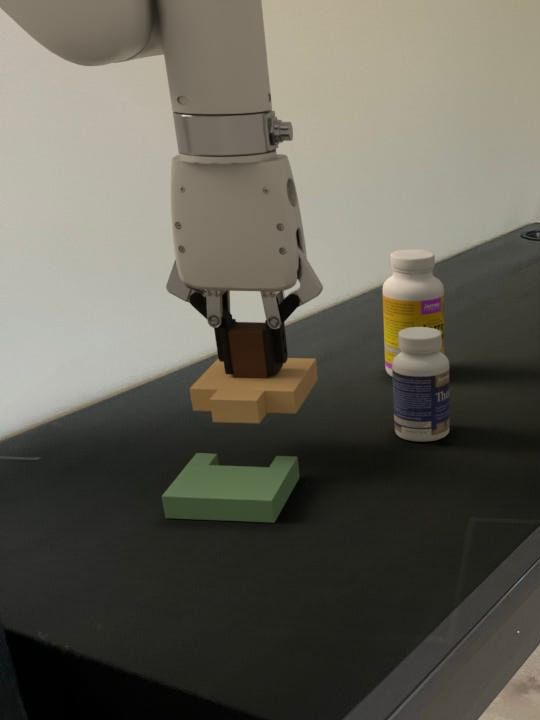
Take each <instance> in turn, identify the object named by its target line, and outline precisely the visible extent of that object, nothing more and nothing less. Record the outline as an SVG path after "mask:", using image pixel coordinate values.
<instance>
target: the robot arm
mask: <svg viewBox="0 0 540 720" xmlns="http://www.w3.org/2000/svg"><path fill="white" fill-rule="evenodd" d="M0 9H1V10H2V11H3V12H4V13H5V14H6V15H7V16H8V17H10V18H11V20H13V21H14V22H15V23H16V24H17V25H18V26H19V27H20V28H21V29H22V30H24V31H25V32H26V33H27V34H28V35H29V36H30V37H31V38H32V39H34V40H35V41H36V42H37V43H38V44H39V45H41V46H42V47H44V48H45V49H47V50H48V51H49V52H51V53H52V54H54V55H56V56H58V57H59V58H61V59H63V60H64V61H67V62H69V63H73V64H75V65H78V66H84V67H101V66H105V65H110V64H118V63H123V62H129V61H134V60H138V59H144V58H149V57H155V56H163V58H164V65H165V71H166V77H167V83H168V92H169V97H170V104H171V110H172V117H173V123H174V130H175V136H176V143H177V151H178V154H177V155H175V156H174V157H172V158H171V167H170V213H171V214H170V215H171V229H172V230H171V231H172V240H173V250H174V256H175V259H174V262H173V265H172V268H171V271H170V273H169V276H168V279H167V283H166V284H165V285H166V286H165V288H166V291H167V292H168V293H169V294H171V295H173V296H174V297H176V298H178V299H180V300H182V301H184V302H186V303H189V304H190V305H191V307H193V308H194V309H195V310H196V311H197V312H198V314H200V315H201V316H203V318H205V320H206V321H207V323H208V325H209V326H210V327H211V328H212V329H214V330H213V332H214V336H215V344H216V352H217V359H218V358H219V361H220V362H224V368H225V373H226V374H233V366H232V359H231V351H230V344H229V337H228V331H229V330H230V329H231V328H232V327H233V326H234V325H235V324H236V323H237V322H238V321H237V320H236V318H233V314H232V313H231V291H232V292H233V291H234V292H260V297H261V300H262V306H263V310H264V316H265V321H264V323H266V327H265V328H264V329H263V331H262V336H263V345H264V353H265V362H266V370H267V373H268V374H269V375H272V376H276V374H277V373H278V372H279V371H280V369H281V368H282V367H283V363H286V362H287V358H289V357H288V356H289V355H288V345H287V336H286V335H287V334H286V327H285V323H286V321H287V320H288V319H289V318H290V317H291V315H292V314H293V313H294V312H295V311H296V310H297V309H298V308H299V307H301V306H302V305H305V304H307V303H308V302H310V301H312V300H314V299H315V298H318V297H319V296H320V295H321V293H322V292H323V290H324V286H323V284H322V282H321V280H320V279H319V277H318V275H317V273H316V272H315V270H314V269H313V267H312V265H311V263H310V261H309V260H308V255H307V247H306V246H307V245H306V240H305V234H304V227H303V220H302V214H301V209H300V203H299V202H300V201H299V198H298V197H299V196H298V192H297V187H296V182H295V179H294V175H293V171H292V167H291V164H290V160H289V157H288V155H286V154H282V153H278V152H277V149H279V145H280V144H282V143H284V141H285V142H286V141H287V142H290V141H291V142H292V141H293V139H294V138H293V137H294V129H293V124H292V122H291V121H283V120H282V119H278V116H276V111H275V110H273V104H272V92H271V83H270V76H269V75H270V74H269V73H270V72H269V63H268V54H267V44H266V34H265V22H264V13H263V12H264V11H263V3H262V0H0ZM297 281H298V282H299V287H298V288H296V289H294V290H291V292H289V293H288V294H287V295H286V294H285V291H287V290H290V289H292V288H293V287H295V286H296V284H297Z"/></svg>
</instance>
